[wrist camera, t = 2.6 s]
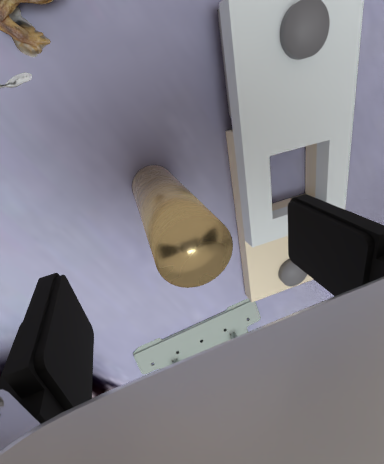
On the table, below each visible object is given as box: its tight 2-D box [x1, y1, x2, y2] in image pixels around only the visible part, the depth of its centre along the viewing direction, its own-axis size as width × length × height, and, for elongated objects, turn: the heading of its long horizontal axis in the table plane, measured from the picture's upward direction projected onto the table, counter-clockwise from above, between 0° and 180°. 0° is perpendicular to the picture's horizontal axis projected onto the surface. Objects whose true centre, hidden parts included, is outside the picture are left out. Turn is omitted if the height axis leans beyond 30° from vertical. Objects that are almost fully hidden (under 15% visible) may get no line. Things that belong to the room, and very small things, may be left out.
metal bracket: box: [133, 298, 260, 374], centre depth 32 cm, size 14×6×15 cm
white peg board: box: [217, 0, 364, 302], centre depth 23 cm, size 26×10×4 cm, turn 11°
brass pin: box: [132, 165, 233, 288], centre depth 17 cm, size 4×4×12 cm
